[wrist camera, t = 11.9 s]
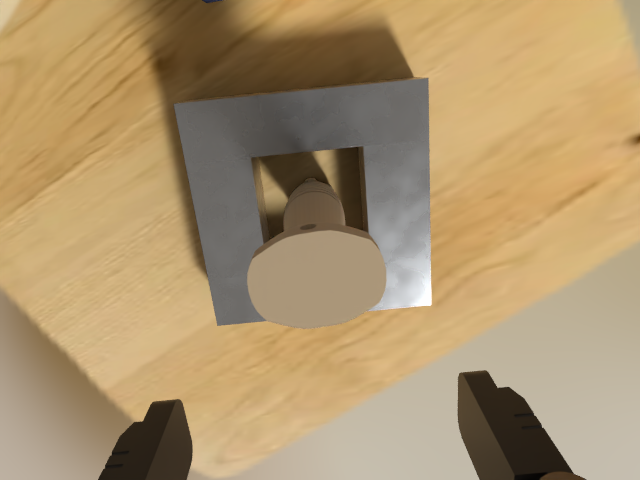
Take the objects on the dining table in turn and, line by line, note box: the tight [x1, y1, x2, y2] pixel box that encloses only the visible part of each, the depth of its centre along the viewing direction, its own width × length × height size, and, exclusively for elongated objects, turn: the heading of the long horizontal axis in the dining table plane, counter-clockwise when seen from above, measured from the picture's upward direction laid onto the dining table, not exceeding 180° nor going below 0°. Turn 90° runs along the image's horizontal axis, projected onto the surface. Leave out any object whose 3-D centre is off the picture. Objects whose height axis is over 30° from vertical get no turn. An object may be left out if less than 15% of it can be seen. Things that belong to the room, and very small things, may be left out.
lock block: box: [174, 77, 431, 326], centre depth 33 cm, size 16×16×4 cm
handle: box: [247, 178, 387, 329], centre depth 28 cm, size 5×6×15 cm
